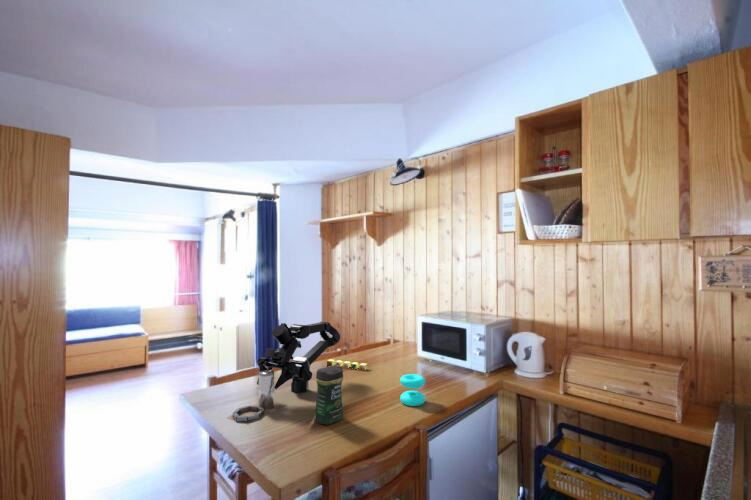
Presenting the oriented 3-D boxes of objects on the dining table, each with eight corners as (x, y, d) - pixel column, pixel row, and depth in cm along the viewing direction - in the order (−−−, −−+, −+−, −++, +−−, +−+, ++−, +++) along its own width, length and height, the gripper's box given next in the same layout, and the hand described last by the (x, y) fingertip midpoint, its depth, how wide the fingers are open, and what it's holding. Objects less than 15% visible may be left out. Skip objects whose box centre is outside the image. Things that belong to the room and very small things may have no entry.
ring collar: (267, 410, 128) (267, 406, 128) (255, 422, 118) (255, 417, 118) (241, 409, 129) (241, 405, 129) (227, 421, 119) (228, 416, 119)
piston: (275, 404, 133) (276, 370, 134) (270, 410, 128) (270, 374, 128) (262, 403, 134) (262, 370, 134) (255, 409, 128) (256, 374, 129)
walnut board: (266, 402, 138) (266, 399, 138) (287, 407, 133) (287, 404, 133) (226, 421, 122) (226, 417, 122) (247, 428, 116) (247, 424, 116)
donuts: (429, 379, 136) (407, 382, 132) (430, 404, 135) (407, 409, 131) (417, 371, 145) (395, 374, 141) (417, 395, 145) (396, 399, 141)
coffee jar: (326, 427, 116) (326, 372, 117) (311, 420, 122) (312, 367, 123) (347, 418, 123) (347, 366, 124) (332, 412, 129) (332, 362, 130)
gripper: (260, 337, 141) (237, 371, 131) (295, 342, 132) (273, 379, 122) (274, 352, 148) (253, 386, 137) (308, 358, 139) (288, 394, 128)
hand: (266, 386), depth 131 cm, fingers open, 9 cm apart
